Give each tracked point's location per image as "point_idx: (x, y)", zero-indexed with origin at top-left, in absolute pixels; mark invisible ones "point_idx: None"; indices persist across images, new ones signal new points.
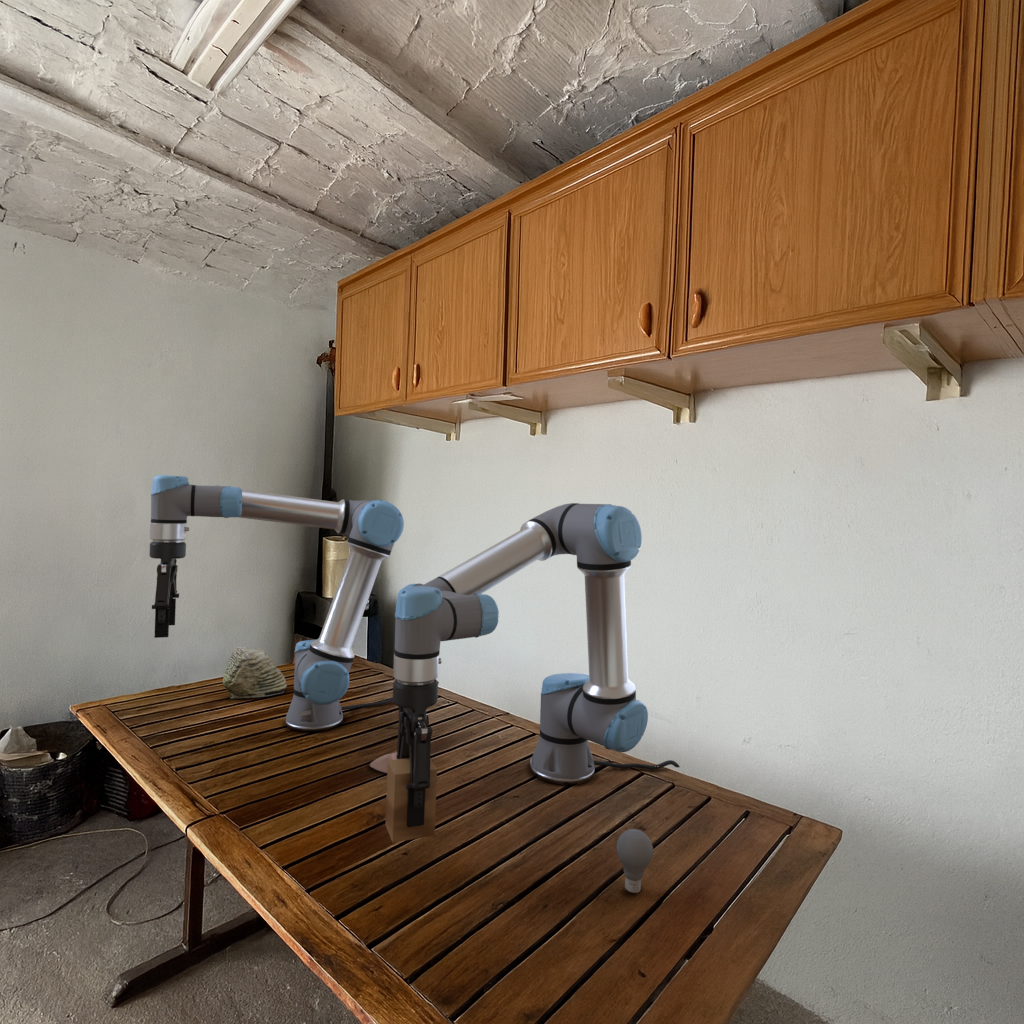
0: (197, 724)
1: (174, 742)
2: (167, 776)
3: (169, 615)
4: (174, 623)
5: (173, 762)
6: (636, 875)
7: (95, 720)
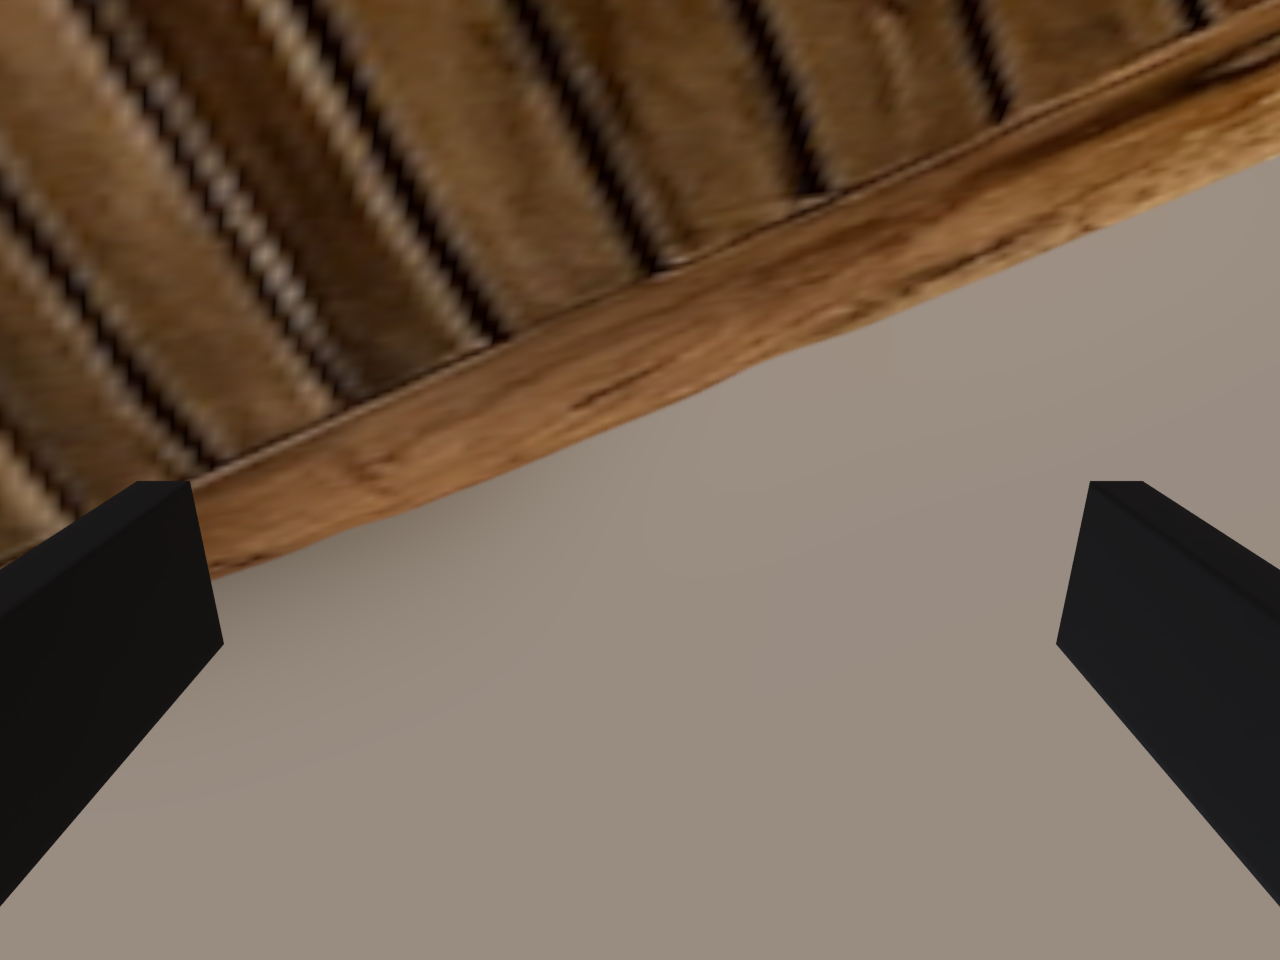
0: (180, 140)
1: (449, 239)
2: (881, 225)
3: (106, 647)
4: (172, 496)
5: (720, 216)
6: None
7: None
